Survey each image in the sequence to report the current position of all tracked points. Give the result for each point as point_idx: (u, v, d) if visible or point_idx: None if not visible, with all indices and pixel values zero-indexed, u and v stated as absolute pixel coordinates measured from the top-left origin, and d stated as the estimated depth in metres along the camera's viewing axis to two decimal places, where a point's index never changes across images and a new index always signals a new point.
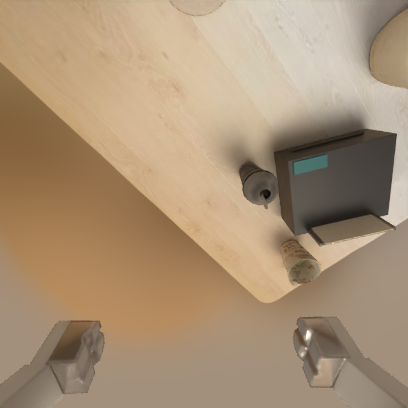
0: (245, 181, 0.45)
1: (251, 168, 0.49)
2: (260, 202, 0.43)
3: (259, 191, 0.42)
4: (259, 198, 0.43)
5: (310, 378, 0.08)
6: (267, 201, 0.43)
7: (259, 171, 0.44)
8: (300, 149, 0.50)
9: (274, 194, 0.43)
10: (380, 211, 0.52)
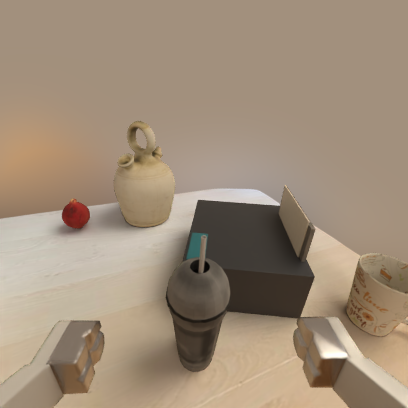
0: (174, 310, 0.22)
1: None
2: (215, 279, 0.22)
3: (190, 273, 0.22)
4: (204, 276, 0.22)
5: (310, 378, 0.08)
6: (216, 268, 0.23)
7: None
8: None
9: (207, 258, 0.25)
10: (275, 209, 0.49)
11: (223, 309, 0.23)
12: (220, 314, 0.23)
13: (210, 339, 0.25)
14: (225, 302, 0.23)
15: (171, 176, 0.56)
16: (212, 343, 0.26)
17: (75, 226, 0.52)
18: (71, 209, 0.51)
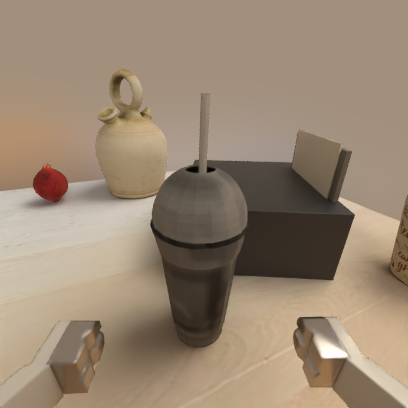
0: (163, 233, 0.14)
1: None
2: (225, 182, 0.14)
3: (185, 174, 0.14)
4: (208, 176, 0.14)
5: (310, 378, 0.08)
6: (226, 173, 0.15)
7: None
8: None
9: None
10: (287, 164, 0.42)
11: (239, 231, 0.14)
12: (235, 238, 0.14)
13: (220, 289, 0.16)
14: (242, 221, 0.15)
15: (163, 137, 0.48)
16: (223, 298, 0.17)
17: (49, 196, 0.44)
18: (43, 175, 0.43)
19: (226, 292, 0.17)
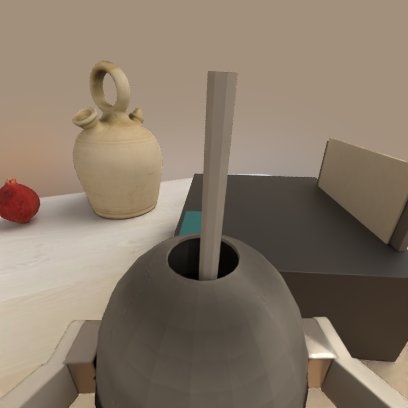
0: None
1: None
2: (266, 299, 0.06)
3: (167, 279, 0.06)
4: (224, 290, 0.06)
5: None
6: (260, 261, 0.07)
7: None
8: None
9: (224, 235, 0.08)
10: (310, 181, 0.33)
11: None
12: None
13: None
14: (303, 386, 0.06)
15: (156, 145, 0.39)
16: None
17: (14, 219, 0.35)
18: (6, 193, 0.34)
19: None
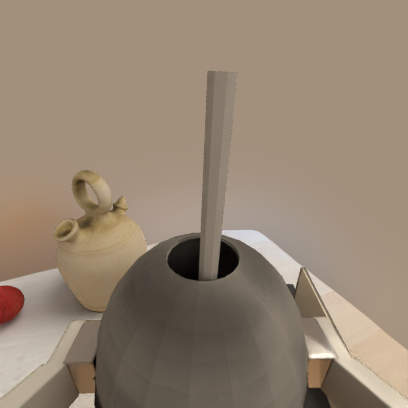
0: None
1: None
2: (266, 300, 0.06)
3: (167, 280, 0.06)
4: (224, 290, 0.05)
5: None
6: (260, 262, 0.07)
7: None
8: None
9: None
10: None
11: None
12: None
13: None
14: (303, 386, 0.06)
15: (138, 240, 0.40)
16: None
17: None
18: None
19: None
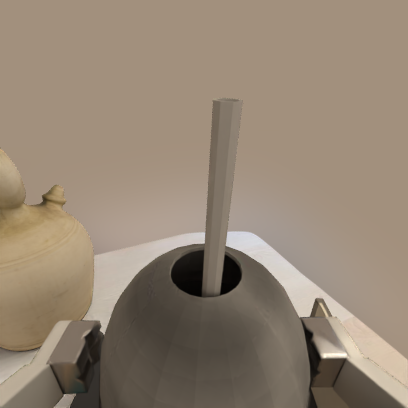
0: None
1: None
2: (268, 316, 0.06)
3: (171, 296, 0.06)
4: (227, 307, 0.06)
5: (310, 378, 0.08)
6: (263, 275, 0.07)
7: None
8: None
9: (226, 247, 0.08)
10: None
11: None
12: None
13: None
14: (306, 400, 0.06)
15: (73, 247, 0.27)
16: None
17: None
18: None
19: None
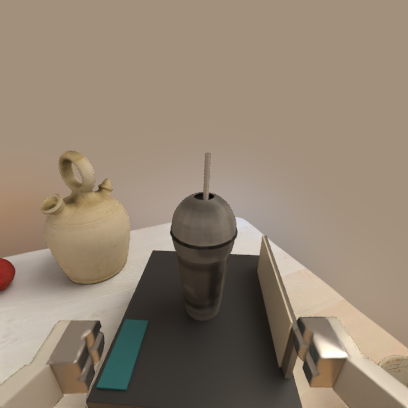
0: (179, 239, 0.22)
1: None
2: (220, 205, 0.22)
3: (194, 200, 0.22)
4: (209, 202, 0.21)
5: (310, 378, 0.08)
6: (221, 199, 0.23)
7: None
8: None
9: None
10: (253, 262, 0.37)
11: (230, 238, 0.22)
12: (227, 242, 0.22)
13: (217, 277, 0.24)
14: (232, 231, 0.22)
15: (121, 217, 0.43)
16: (220, 284, 0.25)
17: None
18: None
19: (222, 280, 0.25)
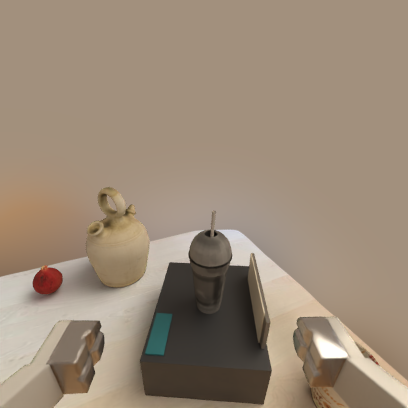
0: (195, 262, 0.34)
1: None
2: (221, 240, 0.34)
3: (205, 237, 0.34)
4: (214, 238, 0.34)
5: (310, 378, 0.08)
6: (222, 235, 0.36)
7: None
8: None
9: (215, 230, 0.37)
10: (245, 271, 0.50)
11: (227, 261, 0.35)
12: (225, 264, 0.34)
13: (219, 285, 0.37)
14: (228, 256, 0.35)
15: (144, 236, 0.56)
16: (220, 289, 0.38)
17: (46, 293, 0.52)
18: (41, 278, 0.51)
19: (222, 286, 0.38)
